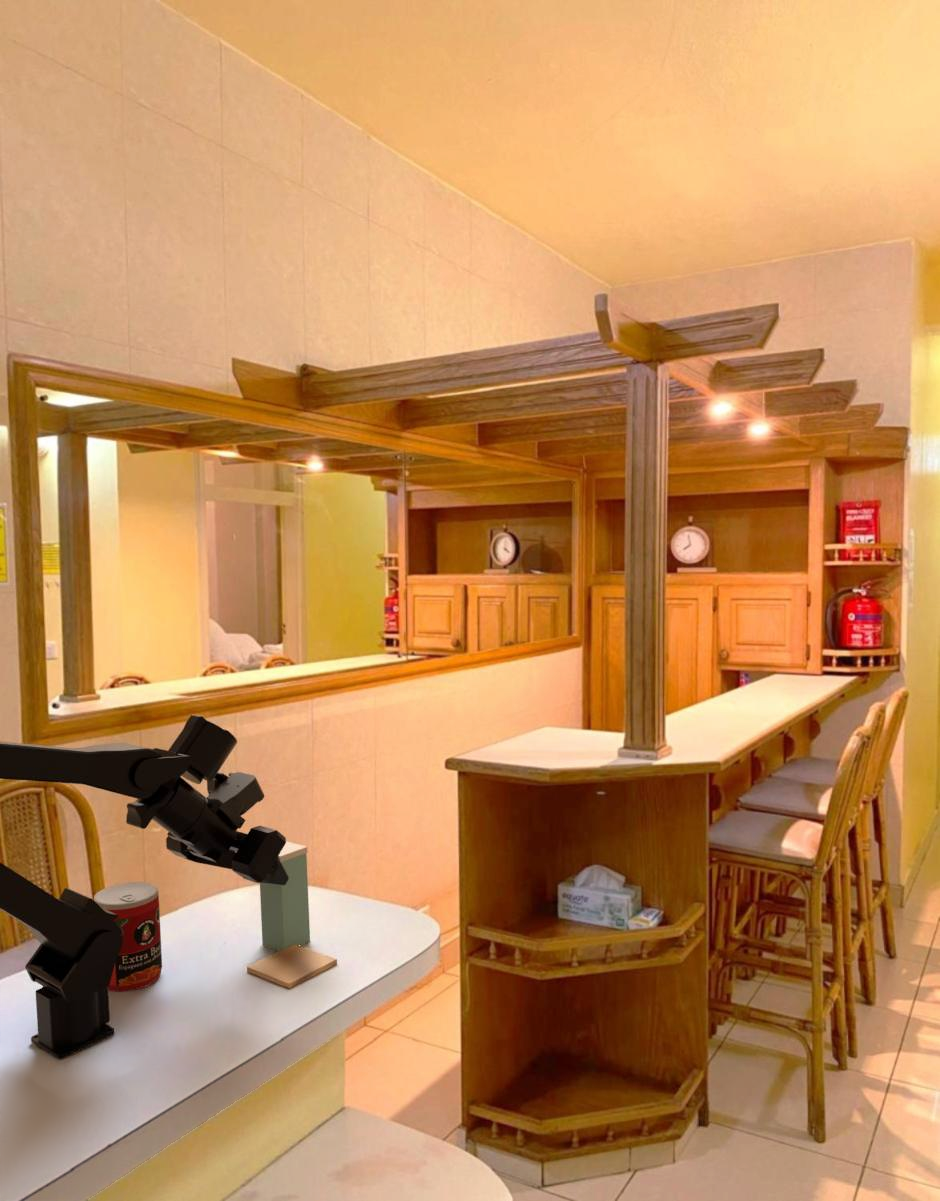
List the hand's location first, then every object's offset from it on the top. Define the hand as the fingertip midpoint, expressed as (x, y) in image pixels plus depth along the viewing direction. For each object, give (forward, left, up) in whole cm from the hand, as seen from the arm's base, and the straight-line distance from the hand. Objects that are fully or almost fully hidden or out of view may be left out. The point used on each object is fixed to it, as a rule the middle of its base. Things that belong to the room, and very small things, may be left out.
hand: (264, 874), depth 121 cm
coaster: (-1, -6, -11) cm, 12 cm away
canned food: (-15, +9, -11) cm, 20 cm away
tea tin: (+3, 0, -11) cm, 11 cm away
